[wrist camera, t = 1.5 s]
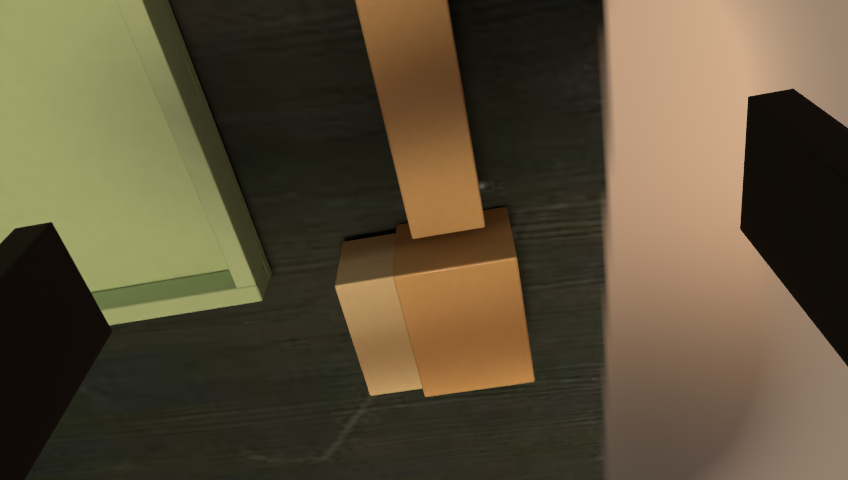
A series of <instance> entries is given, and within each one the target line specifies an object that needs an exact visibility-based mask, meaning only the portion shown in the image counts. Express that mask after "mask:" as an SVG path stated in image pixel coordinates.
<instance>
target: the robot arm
mask: <svg viewBox="0 0 848 480" xmlns="http://www.w3.org/2000/svg"><path fill="white" fill-rule="evenodd" d="M747 113H748V114H747V128H746V144H745V145H746V146H745V161H744V177H743V193H742V211H741V226H740V229H741V231H742V232H743V233H744V234H745V236H746V237H747V238H748V239H749V241H750V242H751V243H752V245H753V246H754V247H755V248H756V250H757V251H758V252H759V253H760V255H761V256H762V257H763V259H764V260H765V261H766V262H767V264H768V265H769V266H770V267H771V269H772V270H773V271H774V273H775V274H776V275H777V277H778V278H779V279H780V280H781V282H782V283H783V284H784V285H785V287H786V288H787V289H788V290H789V292H790V293H791V294H792V296H793V297H794V298H795V300H796V301H797V302H798V303H799V305H800V306H801V307H802V308H803V310H804V311H805V312H806V314H807V315H808V316H809V317H810V319H811V320H812V321H813V322H814V324H815V325H816V326H817V328H818V329H819V330H820V331H821V333H822V334H823V335H824V337H825V338H826V339H827V340H828V342H829V343H830V344H831V346H832V347H833V348H834V349H835V350H836V352H837V353H838V354H839V356H840V357H841V358H842V359H843V361H844V362H845V363H846V365H847V366H848V128H847V127H845V126H844V125H843V124H841V123H840V122H838V121H837V120H836V119H834V118H833V117H832V116H830V115H829V114H827V113H826V112H825V111H823V110H822V109H820V108H819V107H818V106H816V105H815V104H814V103H812V102H811V101H809V100H808V99H806V98H805V97H804V96H803V95H801V94H799V93H798V92H797V91H795V90H794V89H790V90H784V91H778V92H773V93H767V94H761V95H756V96H750V97H748V111H747ZM111 332H112V330H111V328H110V326H109V324H108V322H107V321H106V319H105V317H104V315H103V313H102V312H101V310H100V308H99V306H98V304H97V303H96V301H95V299H94V297H93V295H92V294H91V292H90V290H89V288H88V286H87V285H86V283H85V281H84V279H83V277H82V276H81V274H80V272H79V270H78V268H77V267H76V265H75V263H74V261H73V259H72V257H71V256H70V254H69V252H68V250H67V248H66V247H65V245H64V243H63V241H62V239H61V238H60V236H59V234H58V232H57V230H56V229H55V227H54V225H53V223H52V222H48V223H43V224H37V225H31V226H26V227H20V228H15V229H14V230H13V231H12V232H11V233H10V234H9V235H8V236H7V237H6V238H5V239H4V240H3V241H2V242H1V243H0V480H25V478H26V476H27V475H28V473H29V471H30V470H31V468H32V466H33V465H34V463H35V461H36V459H37V458H38V456H39V454H40V453H41V451H42V449H43V448H44V446H45V444H46V442H47V441H48V439H49V437H50V436H51V434H52V432H53V431H54V429H55V427H56V426H57V424H58V422H59V420H60V419H61V417H62V415H63V414H64V412H65V410H66V409H67V407H68V405H69V404H70V402H71V400H72V398H73V397H74V395H75V393H76V392H77V390H78V388H79V387H80V385H81V383H82V382H83V380H84V378H85V376H86V375H87V373H88V371H89V370H90V368H91V366H92V365H93V363H94V361H95V359H96V358H97V356H98V354H99V353H100V351H101V349H102V348H103V346H104V344H105V343H106V341H107V339H108V337H109V336H110V334H111Z"/></svg>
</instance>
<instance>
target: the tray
mask: <svg viewBox="0 0 848 480" xmlns="http://www.w3.org/2000/svg"><path fill="white" fill-rule="evenodd" d="M48 222H52V223H53V225H54V227H55V229H56V230H57V232H58V234H59V236H60V238H61V239H62V241H63V243H64V245H65V247H66V248H67V250H68V252H69V254H70V256H71V257H72V259H73V261H74V263H75V265H76V267H77V268H78V270H79V272H80V274H81V276H82V277H83V279H84V281H85V283H86V285H87V286H88V288H89V290H90V292H91V294H92V295H93V297H94V299H95V301H96V303H97V304H98V306H99V308H100V310H101V312H102V313H103V315H104V317H105V319H106V321H107V322H108V324H109V325H114V324H121V323H127V322H133V321H140V320H146V319H152V318H158V317H165V316H171V315H177V314H184V313H190V312H196V311H202V310H209V309H215V308H221V307H228V306H234V305H240V304H246V303H253V302H259V301H262V300H263V297H264V294H265V291H266V288H267V285H268V281H269V279H270V277H271V273H272V271H271V269H270V266H269V264H268V261H267V258H266V256H265V253H264V250H263V248H262V245H261V243H260V240H259V237H258V235H257V232H256V229H255V227H254V224H253V222H252V219H251V216H250V214H249V211H248V208H247V206H246V203H245V201H244V198H243V195H242V193H241V190H240V187H239V185H238V182H237V180H236V177H235V174H234V172H233V169H232V166H231V164H230V161H229V159H228V156H227V153H226V151H225V148H224V145H223V143H222V140H221V138H220V135H219V132H218V130H217V127H216V124H215V122H214V119H213V117H212V114H211V111H210V109H209V106H208V103H207V101H206V98H205V95H204V93H203V90H202V88H201V85H200V82H199V80H198V77H197V74H196V72H195V69H194V67H193V64H192V61H191V59H190V56H189V53H188V51H187V48H186V46H185V43H184V40H183V38H182V35H181V32H180V30H179V27H178V25H177V22H176V19H175V17H174V14H173V11H172V9H171V6H170V4H169V1H168V0H0V243H1V242H2V241H3V240H4V239H5V238H6V237H7V236H8V235H9V234H10V233H11V232H12V231H13V230H14V229H15V228H20V227H26V226H31V225H37V224H43V223H48Z"/></svg>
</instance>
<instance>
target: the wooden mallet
mask: <svg viewBox="0 0 848 480" xmlns="http://www.w3.org/2000/svg"><path fill="white" fill-rule="evenodd" d="M355 3H356V7H357V11H358V16H359V20H360V24H361V28H362V32H363V36H364V41H365V45H366V49H367V53H368V57H369V62H370V66H371V70H372V74H373V78H374V82H375V87H376V91H377V95H378V99H379V103H380V107H381V112H382V116H383V120H384V124H385V128H386V132H387V137H388V141H389V145H390V149H391V153H392V157H393V162H394V166H395V170H396V174H397V178H398V182H399V187H400V191H401V195H402V199H403V203H404V207H405V212H406V216H407V220H408V223H405V224H399V225H397V226H396V233H394V234H388V235H382V236H376V237H370V238H364V239H358V240H352V241H346V242H343V245H342V250H341V255H340V261H339V266H338V272H337V277H336V282H335V289H336V292H337V295H338V298H339V301H340V304H341V307H342V310H343V313H344V316H345V319H346V323H347V326H348V329H349V332H350V335H351V338H352V341H353V344H354V347H355V350H356V353H357V356H358V359H359V362H360V366H361V369H362V372H363V375H364V378H365V381H366V384H367V387H368V390H369V393H370V395H371V396H373V395H380V394H387V393H394V392H401V391H408V390H415V389H422V388H423V392H424V395H425V397H429V396H437V395H444V394H451V393H458V392H465V391H472V390H479V389H487V388H494V387H501V386H508V385H515V384H522V383H529V382H534V380H535V377H534V371H533V364H532V357H531V350H530V343H529V336H528V329H527V322H526V316H525V309H524V302H523V295H522V288H521V281H520V274H519V267H518V261H517V255H516V250H515V245H514V240H513V236H512V231H511V226H510V221H509V216H508V211H507V208H506V207H501V208H495V209H489V210H483V206H482V199H481V193H480V186H479V180H478V174H477V168H476V162H475V156H474V150H473V145H472V139H471V133H470V127H469V121H468V115H467V109H466V103H465V97H464V91H463V85H462V80H461V74H460V68H459V62H458V56H457V50H456V44H455V38H454V32H453V26H452V20H451V15H450V9H449V3H448V0H355Z"/></svg>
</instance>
